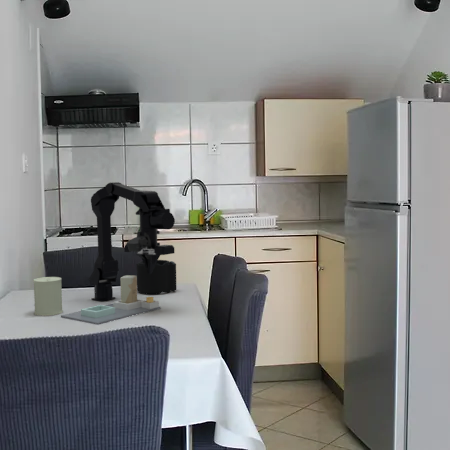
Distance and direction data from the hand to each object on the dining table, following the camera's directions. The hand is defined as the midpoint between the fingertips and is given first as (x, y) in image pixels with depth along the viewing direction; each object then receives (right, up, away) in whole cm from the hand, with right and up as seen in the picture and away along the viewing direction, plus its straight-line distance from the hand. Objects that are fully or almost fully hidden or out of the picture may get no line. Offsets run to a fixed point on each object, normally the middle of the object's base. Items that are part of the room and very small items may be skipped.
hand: (149, 273), depth 209 cm
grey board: (-12, -13, -4) cm, 18 cm away
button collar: (0, -12, +1) cm, 12 cm away
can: (-34, -13, -3) cm, 36 cm away
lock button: (0, -11, +1) cm, 11 cm away
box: (-7, -12, +2) cm, 14 cm away
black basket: (-2, -10, +33) cm, 34 cm away
